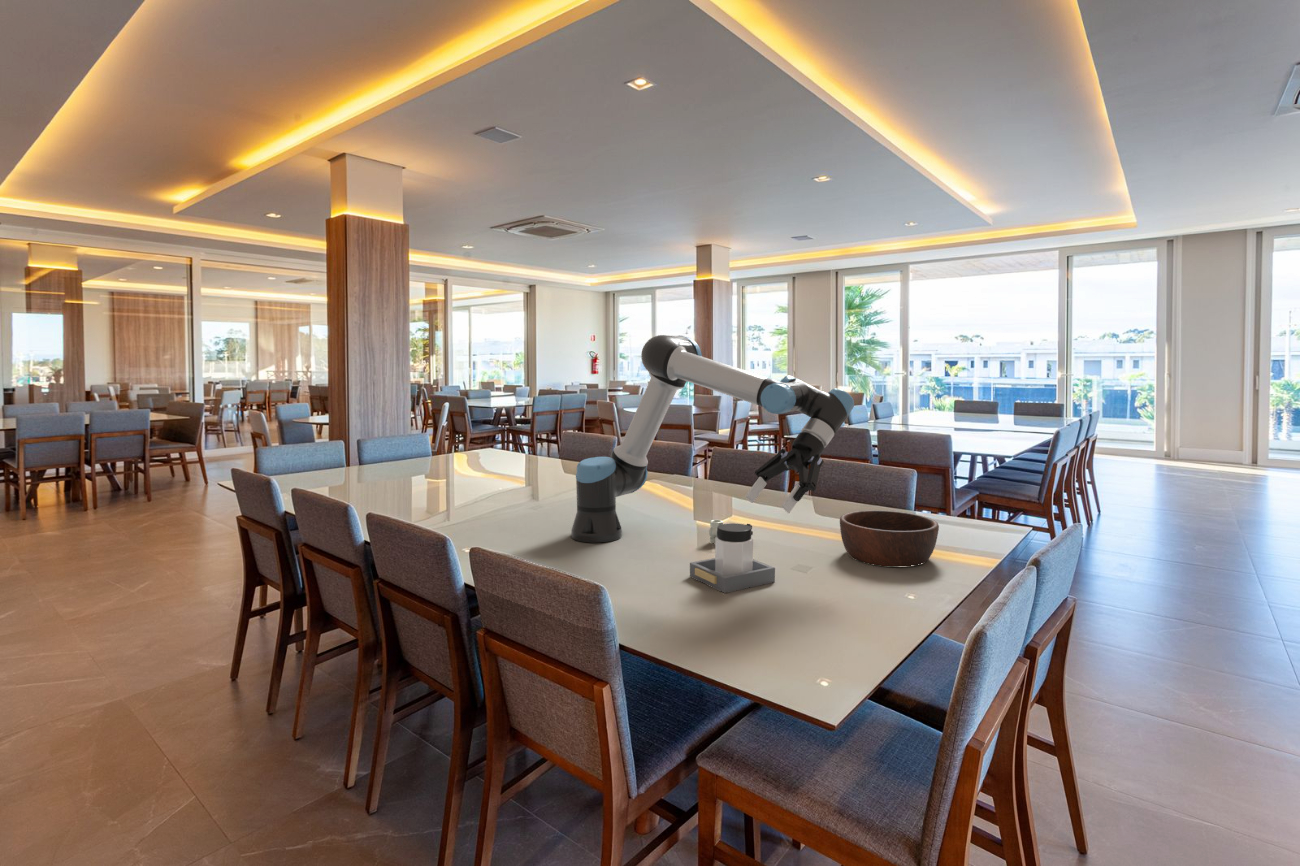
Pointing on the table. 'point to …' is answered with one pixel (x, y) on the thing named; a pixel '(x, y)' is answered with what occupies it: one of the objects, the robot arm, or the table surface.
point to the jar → (733, 549)
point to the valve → (713, 529)
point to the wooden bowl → (888, 537)
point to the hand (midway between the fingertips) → (766, 504)
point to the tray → (732, 576)
